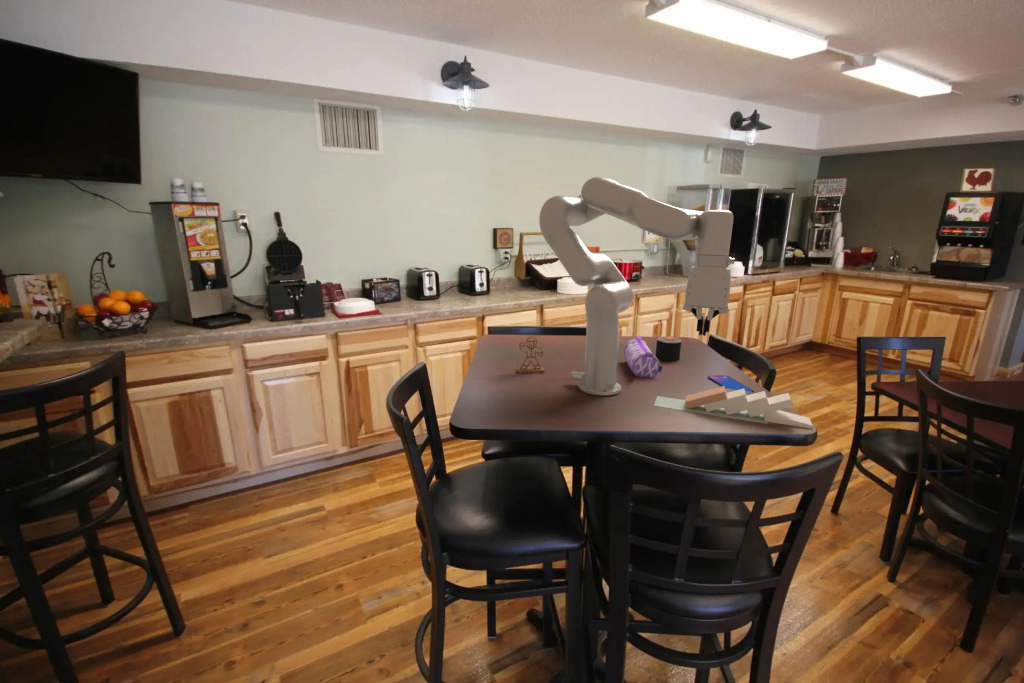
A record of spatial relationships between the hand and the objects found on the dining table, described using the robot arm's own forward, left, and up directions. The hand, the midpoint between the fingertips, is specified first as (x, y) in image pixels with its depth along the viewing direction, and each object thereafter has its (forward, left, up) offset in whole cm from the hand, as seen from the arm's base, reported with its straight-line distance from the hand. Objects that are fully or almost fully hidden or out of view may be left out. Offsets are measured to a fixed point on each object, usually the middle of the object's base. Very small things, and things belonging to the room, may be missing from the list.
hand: (702, 334), depth 119 cm
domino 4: (+13, 0, -19) cm, 23 cm away
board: (+4, 0, -21) cm, 21 cm away
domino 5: (+17, 0, -19) cm, 25 cm away
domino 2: (+3, 0, -19) cm, 19 cm away
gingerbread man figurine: (-52, +13, -21) cm, 58 cm away
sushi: (-12, +51, -21) cm, 56 cm away
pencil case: (-19, +31, -21) cm, 42 cm away
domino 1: (-2, 0, -19) cm, 19 cm away
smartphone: (+9, +28, -22) cm, 36 cm away
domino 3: (+8, 0, -19) cm, 20 cm away
